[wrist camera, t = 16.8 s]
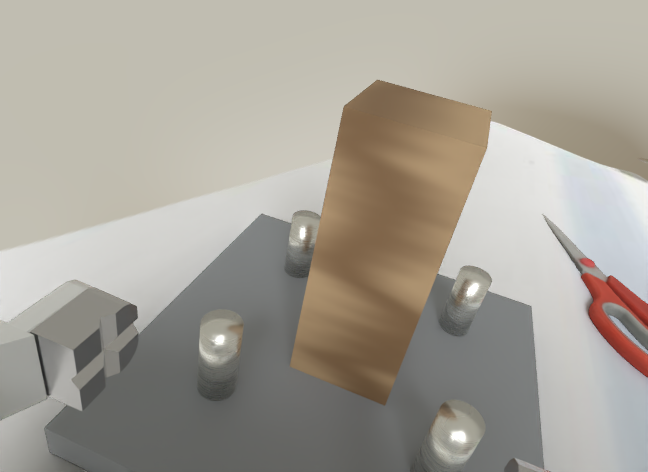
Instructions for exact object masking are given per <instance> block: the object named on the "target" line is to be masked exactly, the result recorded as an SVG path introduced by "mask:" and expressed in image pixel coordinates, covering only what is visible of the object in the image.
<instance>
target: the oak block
mask: <svg viewBox="0 0 648 472" xmlns="http://www.w3.org/2000/svg"><path fill="white" fill-rule="evenodd" d="M491 113H492V111H490V110H486V109H482V108H478V107H475V106H471V105H467V104H464V103H460V102H457V101H453V100H449V99H446V98H442V97H439V96H435V95H431V94H427V93H424V92H420V91H417V90H413V89H410V88H406V87H402V86H399V85H395V84H391V83H388V82H384V81H380V80H376V81H375V82H374V83H373V84H371V85H370V86H369V87H368V88H366V89H365V90H364V91H363V92H362V93H360V94H359V95H358V96H356V97H355V98H354V99H353V100H351V101H350V102H349V103H348V104H346V105H345V106H344V108H343V113H342V118H341V123H340V127H339V132H338V137H337V142H336V147H335V151H334V156H333V161H332V166H331V170H330V175H329V180H328V185H327V190H326V194H325V199H324V204H323V209H322V214H321V218H320V223H319V228H318V233H317V238H316V242H315V247H314V252H313V257H312V262H311V266H310V271H309V276H308V281H307V286H306V290H305V295H304V300H303V305H302V310H301V314H300V319H299V324H298V329H297V334H296V338H295V343H294V348H293V353H292V358H291V362H290V367H292V368H294V369H297V370H299V371H302V372H304V373H306V374H309V375H311V376H314V377H316V378H319V379H321V380H323V381H326V382H328V383H331V384H333V385H336V386H338V387H340V388H343V389H345V390H348V391H350V392H353V393H355V394H358V395H360V396H362V397H365V398H367V399H370V400H372V401H375V402H377V403H379V404H382V405H384V406H385V404H386V402H387V399H388V397H389V394H390V392H391V389H392V387H393V384H394V382H395V379H396V377H397V374H398V372H399V369H400V367H401V364H402V362H403V359H404V356H405V354H406V351H407V349H408V346H409V344H410V341H411V339H412V336H413V334H414V331H415V329H416V326H417V324H418V321H419V319H420V316H421V313H422V311H423V308H424V306H425V303H426V301H427V298H428V296H429V293H430V291H431V288H432V286H433V283H434V281H435V278H436V276H437V273H438V271H439V268H440V265H441V263H442V260H443V258H444V255H445V253H446V250H447V248H448V245H449V243H450V240H451V238H452V235H453V233H454V230H455V228H456V225H457V222H458V220H459V217H460V215H461V212H462V210H463V207H464V205H465V202H466V200H467V197H468V195H469V192H470V190H471V187H472V185H473V182H474V180H475V177H476V174H477V172H478V169H479V167H480V164H481V162H482V159H483V157H484V154H485V152H486V149H487V144H488V136H489V129H490V121H491Z"/></svg>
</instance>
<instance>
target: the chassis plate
mask: <svg viewBox="0 0 648 472" xmlns="http://www.w3.org/2000/svg"><path fill="white" fill-rule="evenodd" d="M290 230H291V223H288V222H285V221H282V220H279V219H276V218H273V217H270V216H267V215H264V214H261V215H260V216H259V217H258V218H257V219H256V220H255V221H254V222H253V223H252V224H251V225H250V226H249V227H248V228H247V229H246V230H245V231H243V232H242V233H241V234H240V235H239V236H238V237H237V238H236V239H235V240H234V241H233V242H232V243H231V244H230V245H229V246H228V247H227V248H226V249H225V250H224V251H223V252H222V253H221V254H220V255H219V256H218V257H217V258H216V259H215V260H214V261H213V262H212V263H211V264H210V265H209V266H208V267H207V268H206V269H205V270H204V271H203V272H202V273H201V274H200V275H199V276H198V277H197V278H196V279H195V280H194V281H193V282H192V283H191V284H190V285H189V286H188V287H187V288H186V289H185V290H184V291H183V292H182V293H181V294H180V295H179V296H178V297H177V298H176V299H174V300H173V301H172V302H171V303H170V304H169V305H168V306H167V307H166V308H165V309H164V310H163V311H162V312H161V313H160V314H159V315H158V316H157V317H156V318H155V319H154V320H153V321H152V322H151V323H150V324H149V325H148V326H147V327H146V328H145V329H144V330H143V331H142V332H141V333H140V334H139V335H138V337H139V341H138V345H137V349H136V352H135V354H134V355H133V357H132V359H131V361H130V362H129V364H128V365H127V366H126V367H125V368H124V369H123V370H122V371H121V372H120V373H118V374H115V375H112V376H109V377H107V379H106V388H105V389H104V390H103V391H102V392H101V393H100V394H99V395H98V396H97V397H96V398H95V399H94V400H93V401H92V402H91V403H90V404H89V405H88V406H87V407H86V408H85V409H84V410H83V411H80V410H78V409H76V408H73V407H71V406H69V405H67V406H66V407H65V408H64V409H63V410H62V411H61V412H60V413H59V414H58V415H57V416H56V417H55V418H54V419H53V420H52V421H51V422H50V423H49V424H48V425H47V426H46V427H45V428H44V429H45V434H46V438H47V442H48V447H49V451H50V453H52V454H54V455H56V456H58V457H61V458H63V459H65V460H67V461H69V462H71V463H73V464H75V465H77V466H79V467H81V468H83V469H85V470H87V471H89V472H411V465H412V463H413V461H414V459H415V457H416V455H417V453H418V451H419V449H420V447H421V445H422V443H423V441H424V439H425V437H426V435H427V433H428V431H429V429H430V427H431V425H432V423H433V421H434V419H435V417H436V415H437V413H438V411H439V409H440V407H441V405H442V404H443V403H444V402H445V401H447V400H452V399H454V400H461V401H464V402H466V403H468V404H470V405H471V406H473V407H474V408H475V409H476V410H477V411H478V412H479V413H480V414H481V416H482V417H483V419H484V422H485V433H484V435H483V437H482V438H481V440H480V442H479V443H478V445H477V446H476V448H475V450H474V451H473V453H472V455H471V456H470V458H469V460H468V461H467V463H466V465H465V466H464V468H463V470H462V471H461V472H504V468H505V466H506V465H507V463H508V462H509V461H510V460H511V459H513V458H517V459H519V460H522V461H524V462H527V463H529V464H532V465H535V466H537V467H540V468H542V469H544V462H543V449H542V436H541V424H540V411H539V398H538V385H537V373H536V360H535V347H534V334H533V322H532V309H531V306H529V305H526V304H523V303H521V302H518V301H515V300H512V299H509V298H506V297H503V296H500V295H497V294H494V293H491V292H488V291H487V293H486V295H485V297H484V299H483V301H482V303H481V305H480V307H479V309H478V311H477V314H476V316H475V318H474V320H473V322H472V324H471V326H470V328H469V330H468V332H467V334H466V335H464V336H453V335H451V334H448V333H447V332H445V331H444V330H443V329H442V328H441V326H440V325H439V319H440V317H441V314H442V312H443V310H444V307H445V305H446V303H447V300H448V298H449V296H450V293H451V291H452V289H453V286H454V284H455V282H456V280H454V279H451V278H448V277H445V276H442V275H439V274H437V276H436V278H435V281H434V283H433V286H432V288H431V291H430V293H429V296H428V298H427V301H426V303H425V306H424V308H423V311H422V313H421V316H420V319H419V321H418V324H417V326H416V329H415V331H414V334H413V336H412V339H411V341H410V344H409V346H408V349H407V351H406V354H405V356H404V359H403V362H402V364H401V367H400V369H399V372H398V374H397V377H396V379H395V382H394V384H393V387H392V389H391V392H390V394H389V397H388V399H387V402H386V404H385V406H384V405H382V404H379V403H377V402H375V401H372V400H370V399H367V398H365V397H362V396H360V395H358V394H355V393H353V392H350V391H348V390H345V389H343V388H340V387H338V386H336V385H333V384H331V383H328V382H326V381H323V380H321V379H319V378H316V377H314V376H311V375H309V374H306V373H304V372H302V371H299V370H297V369H294V368H292V367H290V362H291V358H292V353H293V348H294V343H295V338H296V334H297V329H298V324H299V319H300V314H301V310H302V305H303V300H304V295H305V290H306V286H307V281H308V277H305V278H295V277H292V276H290V275H288V274H287V273H286V272H285V270H284V265H285V259H286V253H287V247H288V242H289V236H290ZM218 309H226V310H230V311H233V312H235V313H237V314H238V315H239V316H240V317H241V318H242V320H243V323H244V327H243V335H242V343H241V351H240V359H239V368H238V376H237V384H236V389H235V391H234V393H233V394H232V395H231V396H230V397H228V398H227V399H224V400H221V401H211V400H208V399H205V398H204V397H202V396H201V395H200V393H199V392H198V389H197V377H198V358H199V339H200V323H201V319H202V318H203V316H204V315H206V314H207V313H209V312H211V311H213V310H218Z"/></svg>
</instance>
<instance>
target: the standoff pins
mask: <svg viewBox="0 0 648 472" xmlns="http://www.w3.org/2000/svg"><path fill="white" fill-rule="evenodd" d="M320 218H321V217H320V216H319V215H318V214H316V213H314V212H311V211H297V212H295V213H294V214H293V218H292V224H291V230H290V236H289V242H288V247H287V253H286V259H285V265H284V270H285V272H286V273H287V274H288V275H290V276H292V277H295V278H305V277H308V276H309V271H310V266H311V262H312V257H313V252H314V247H315V242H316V238H317V233H318V228H319V223H320ZM491 282H492V279H491V277H490V275H489V274H488V273H487V272H485V271H484V270H482V269H480V268H478V267H474V266H464V267H462V268H461V270H460V272H459V274H458V277H457V279H456V282H455V284H454V286H453V289H452V291H451V293H450V296H449V298H448V300H447V303H446V305H445V307H444V310H443V312H442V314H441V317H440V319H439V325H440V326H441V328H442V329H443V330H444V331H445V332H447V333H448V334H451V335H453V336H464V335H466V334H467V332H468V330H469V328H470V326H471V324H472V322H473V320H474V318H475V316H476V314H477V311H478V309H479V307H480V305H481V303H482V301H483V299H484V297H485V295H486V293H487V291H488V289H489V287H490V284H491ZM243 327H244V323H243V320H242V318H241V317H240V316H239V315H238V314H237V313H235V312H233V311H230V310H226V309H218V310H213V311H211V312H209V313H207V314H206V315H204V316H203V318H202V319H201V323H200V339H199V358H198V377H197V389H198V392H199V393H200V395H201V396H202V397H204V398H205V399H208V400H211V401H221V400H224V399H227V398H228V397H230V396H231V395H232V394H233V393H234V391H235V389H236V384H237V376H238V368H239V359H240V351H241V343H242V335H243ZM484 433H485V422H484V419H483V417H482V416H481V414H480V413H479V412H478V411H477V410H476V409H475V408H474V407H473V406H471V405H470V404H468V403H466V402H464V401H461V400H454V399H452V400H447V401H445V402H444V403H443V404H442V405H441V407H440V409H439V411H438V413H437V415H436V417H435V419H434V421H433V423H432V425H431V427H430V429H429V431H428V433H427V435H426V437H425V439H424V441H423V443H422V445H421V447H420V449H419V451H418V453H417V455H416V457H415V459H414V461H413V463H412V465H411V472H461V471H462V470H463V468H464V466H465V465H466V463H467V461H468V460H469V458H470V456H471V455H472V453H473V451H474V450H475V448H476V446H477V445H478V443H479V442H480V440H481V438H482V437H483V435H484Z"/></svg>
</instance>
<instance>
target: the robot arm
mask: <svg viewBox="0 0 648 472" xmlns="http://www.w3.org/2000/svg"><path fill="white" fill-rule="evenodd" d="M137 318H138V316H137V306H135V305H133V304H131V303H129V302H126V301H124V300H122V299H120V298H117V297H115V296H113V295H110V294H108V293H106V292H104V291H101V290H99V289H97V288H94V287H92V286H89V285H87V284H85V283H82V282H80V281H78V280H72V281H68V282H66V283H64V284H63V285H61V286H60V287H58V288H57V289H55V290H54V291H53V292H51V293H50V294H48V295H47V296H45V297H44V298H42V299H41V300H40V301H38V302H37V303H35V304H34V305H32V306H31V307H29V308H28V309H27V310H25V311H24V312H22V313H21V314H19V315H18V316H16V317H15V318H14V319H12V320H11V321H9V322H8V323H6V322H4V321H0V420H2V419H4V418H7V417H9V416H11V415H13V414H15V413H18V412H20V411H22V410H24V409H26V408H29V407H31V406H33V405H35V404H37V403H40V402H42V401H44V400H46V399H47V396H48V397H50V398H52V399H55V400H57V401H59V402H62V403H64V404H66V405H69V406H71V407H73V408H76V409H78V410H80V411H83V410H84V409H85V408H86V407H87V406H88V405H89V404H90V403H91V402H92V401H93V400H94V399H95V398H96V397H97V396H98V395H99V394H100V393H101V392H102V391H103V390H104V389H105V388H106V379H107V377H109V376H112V375H115V374H118V373H120V372H121V371H122V370H123V369H124V368H125V367H126V366H127V365H128V364H129V362H130V361H131V359H132V357H133V355H134V354H135V352H136V349H137V345H138V341H139V337H138V331H137V330H136V328H135V327H134V325H133V322H134V321H135V320H136V319H137ZM504 472H550V471H547V470H545V469H542V468H540V467H537V466H535V465H532V464H529V463H527V462H524V461H522V460H519V459H517V458H513V459H511V460H510V461H509V462H508V463H507V465H506V466H505V468H504Z"/></svg>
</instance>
